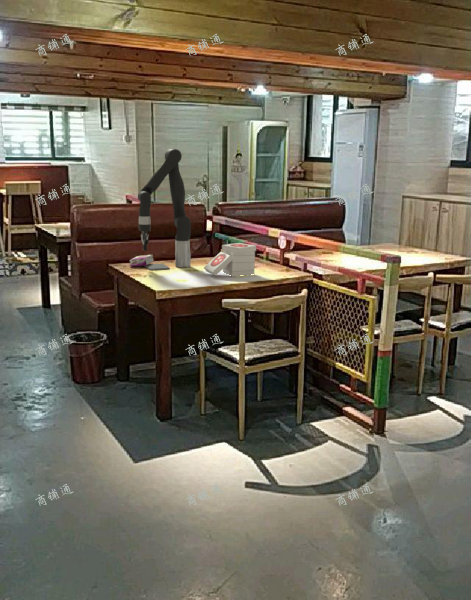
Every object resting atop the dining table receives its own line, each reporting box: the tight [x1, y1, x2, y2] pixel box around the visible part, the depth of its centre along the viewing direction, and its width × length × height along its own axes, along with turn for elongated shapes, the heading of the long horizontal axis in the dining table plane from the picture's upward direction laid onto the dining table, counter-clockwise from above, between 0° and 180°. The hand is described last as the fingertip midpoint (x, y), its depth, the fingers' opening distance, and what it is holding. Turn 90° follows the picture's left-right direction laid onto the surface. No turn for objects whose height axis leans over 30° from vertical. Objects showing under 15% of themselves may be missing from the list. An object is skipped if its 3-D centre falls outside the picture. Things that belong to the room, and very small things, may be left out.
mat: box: [143, 263, 171, 271], centre depth 404 cm, size 13×16×1 cm
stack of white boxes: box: [203, 242, 257, 277], centre depth 385 cm, size 19×30×18 cm, turn 114°
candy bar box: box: [129, 254, 154, 268], centre depth 411 cm, size 11×5×16 cm
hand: (144, 250), depth 399 cm, fingers closed
